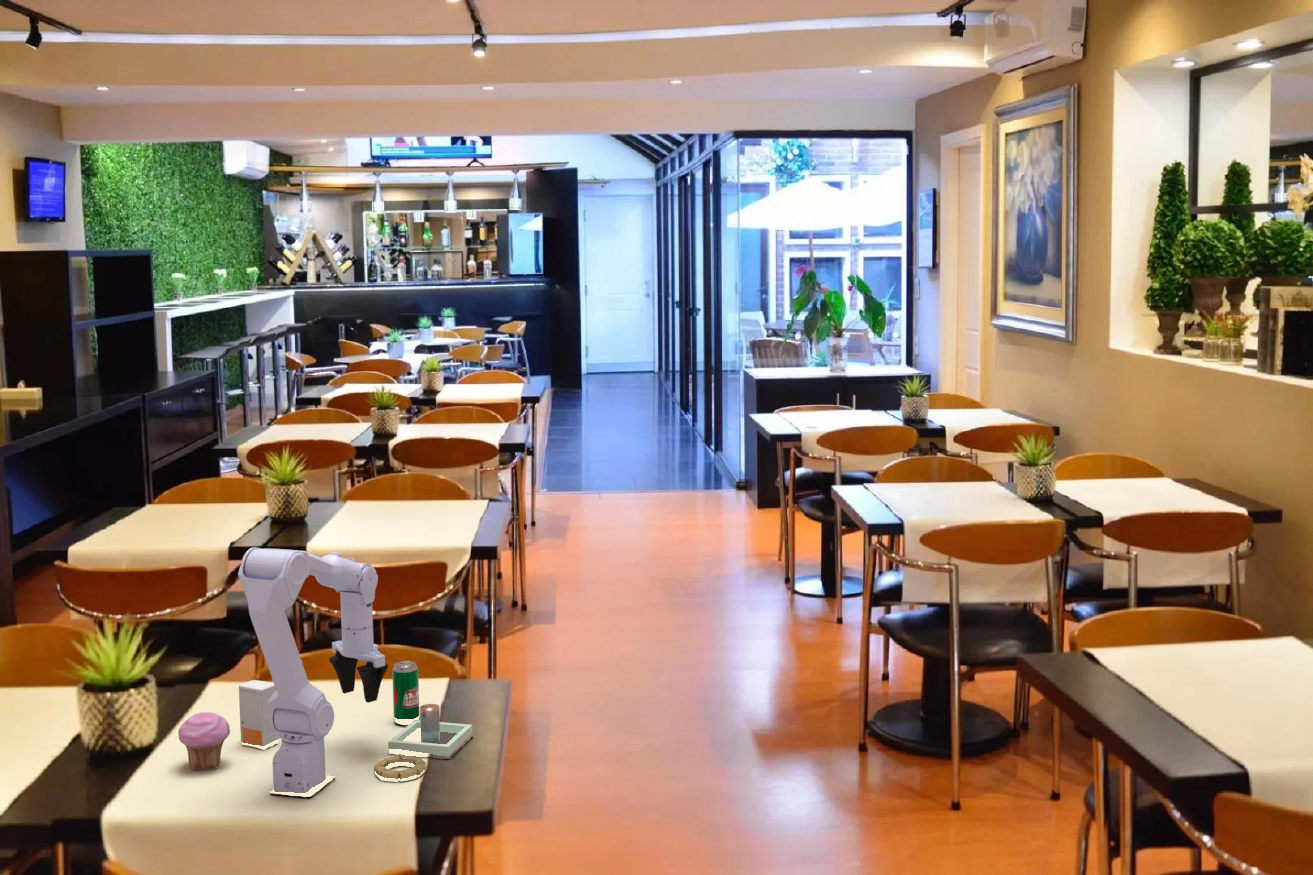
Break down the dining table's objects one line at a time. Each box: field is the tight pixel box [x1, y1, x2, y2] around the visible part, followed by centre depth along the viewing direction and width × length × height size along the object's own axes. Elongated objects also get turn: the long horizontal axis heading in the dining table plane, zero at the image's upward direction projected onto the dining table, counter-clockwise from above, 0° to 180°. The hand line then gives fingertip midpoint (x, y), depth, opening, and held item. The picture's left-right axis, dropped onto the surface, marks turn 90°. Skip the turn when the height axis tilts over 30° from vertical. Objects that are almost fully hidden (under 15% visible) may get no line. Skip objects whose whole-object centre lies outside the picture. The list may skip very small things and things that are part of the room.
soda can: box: [391, 660, 420, 719], centre depth 265 cm, size 5×5×12 cm
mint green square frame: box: [387, 719, 474, 757], centre depth 253 cm, size 12×12×2 cm
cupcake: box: [177, 711, 231, 771], centre depth 243 cm, size 9×9×10 cm
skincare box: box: [238, 679, 280, 746], centre depth 253 cm, size 6×4×12 cm
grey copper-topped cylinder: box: [419, 703, 441, 744], centre depth 252 cm, size 4×4×7 cm
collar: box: [373, 755, 427, 779], centre depth 240 cm, size 9×9×2 cm
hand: (359, 696), depth 250 cm, fingers open, 7 cm apart
